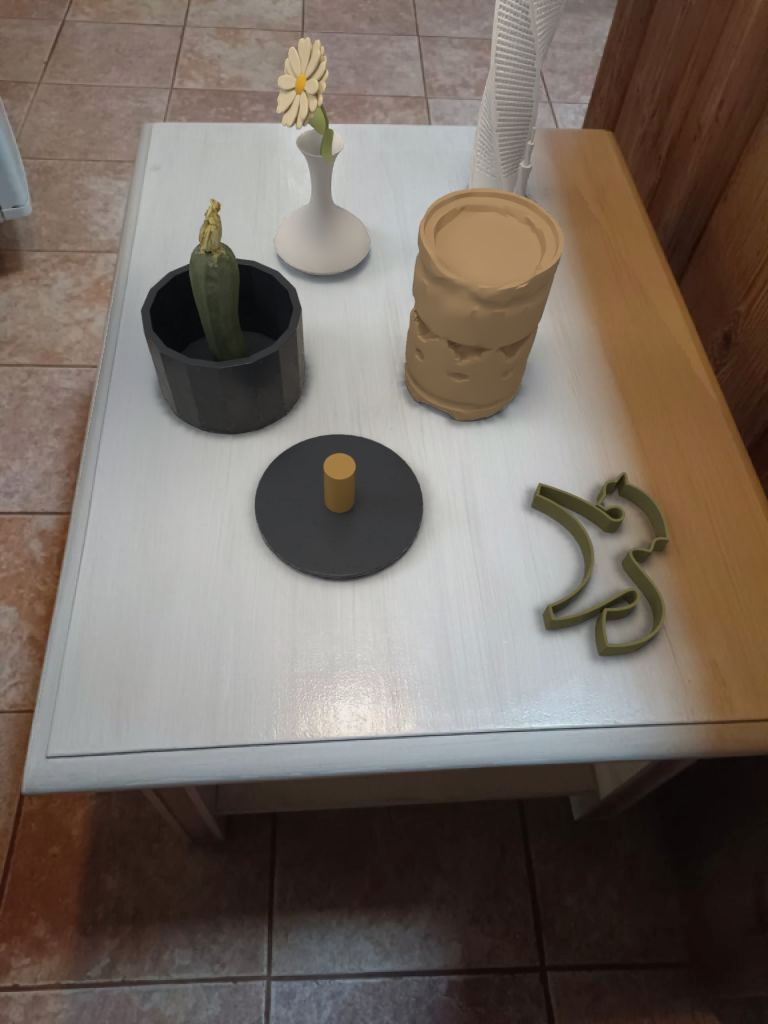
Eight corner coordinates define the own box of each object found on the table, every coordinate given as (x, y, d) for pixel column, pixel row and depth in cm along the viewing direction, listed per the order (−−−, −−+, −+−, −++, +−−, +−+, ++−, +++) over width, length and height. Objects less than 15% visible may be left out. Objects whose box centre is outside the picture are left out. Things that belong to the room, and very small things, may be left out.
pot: (317, 419, 73) (315, 352, 65) (171, 445, 71) (150, 379, 63) (289, 320, 81) (283, 248, 73) (155, 340, 78) (134, 268, 70)
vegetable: (227, 399, 73) (193, 230, 56) (203, 374, 75) (163, 203, 58) (262, 379, 75) (240, 209, 58) (238, 355, 77) (209, 183, 60)
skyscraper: (452, 218, 92) (492, -42, 68) (463, 181, 96) (504, -75, 72) (518, 231, 91) (581, -27, 67) (525, 193, 95) (588, -62, 72)
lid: (443, 560, 66) (453, 522, 60) (273, 598, 63) (266, 562, 57) (396, 428, 73) (401, 384, 68) (242, 456, 70) (234, 413, 65)
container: (511, 432, 74) (557, 294, 59) (391, 407, 75) (405, 265, 59) (526, 346, 80) (570, 202, 65) (415, 324, 81) (433, 177, 66)
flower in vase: (276, 221, 90) (257, -9, 68) (368, 223, 90) (378, -4, 69) (272, 293, 83) (249, 63, 62) (371, 295, 83) (383, 68, 62)
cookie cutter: (528, 478, 71) (533, 466, 69) (649, 485, 71) (656, 473, 70) (543, 652, 61) (549, 643, 60) (682, 659, 62) (692, 651, 60)
